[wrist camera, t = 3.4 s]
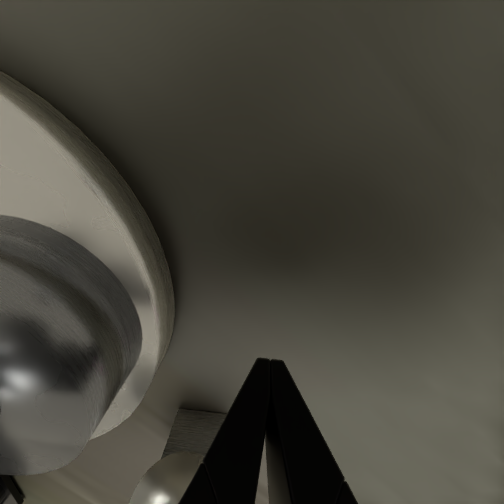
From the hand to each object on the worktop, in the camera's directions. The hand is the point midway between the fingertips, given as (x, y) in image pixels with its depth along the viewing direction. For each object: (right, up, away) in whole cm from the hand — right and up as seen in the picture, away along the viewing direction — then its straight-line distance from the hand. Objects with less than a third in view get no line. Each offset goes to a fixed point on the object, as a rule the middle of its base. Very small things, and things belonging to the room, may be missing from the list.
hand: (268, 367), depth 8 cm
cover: (-9, +1, +1) cm, 9 cm away
